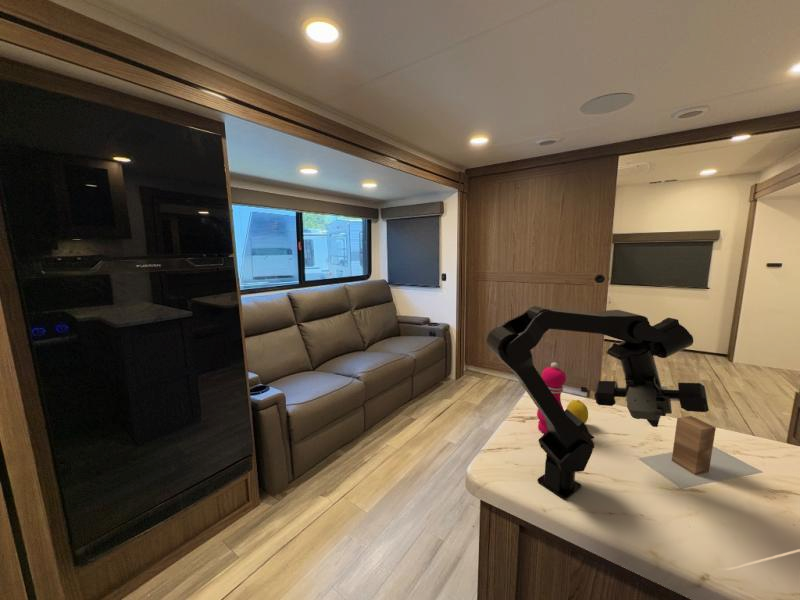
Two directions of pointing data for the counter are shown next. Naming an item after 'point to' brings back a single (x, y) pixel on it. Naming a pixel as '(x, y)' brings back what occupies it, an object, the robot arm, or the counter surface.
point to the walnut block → (693, 444)
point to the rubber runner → (719, 470)
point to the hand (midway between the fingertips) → (655, 425)
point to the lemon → (578, 410)
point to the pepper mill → (552, 389)
